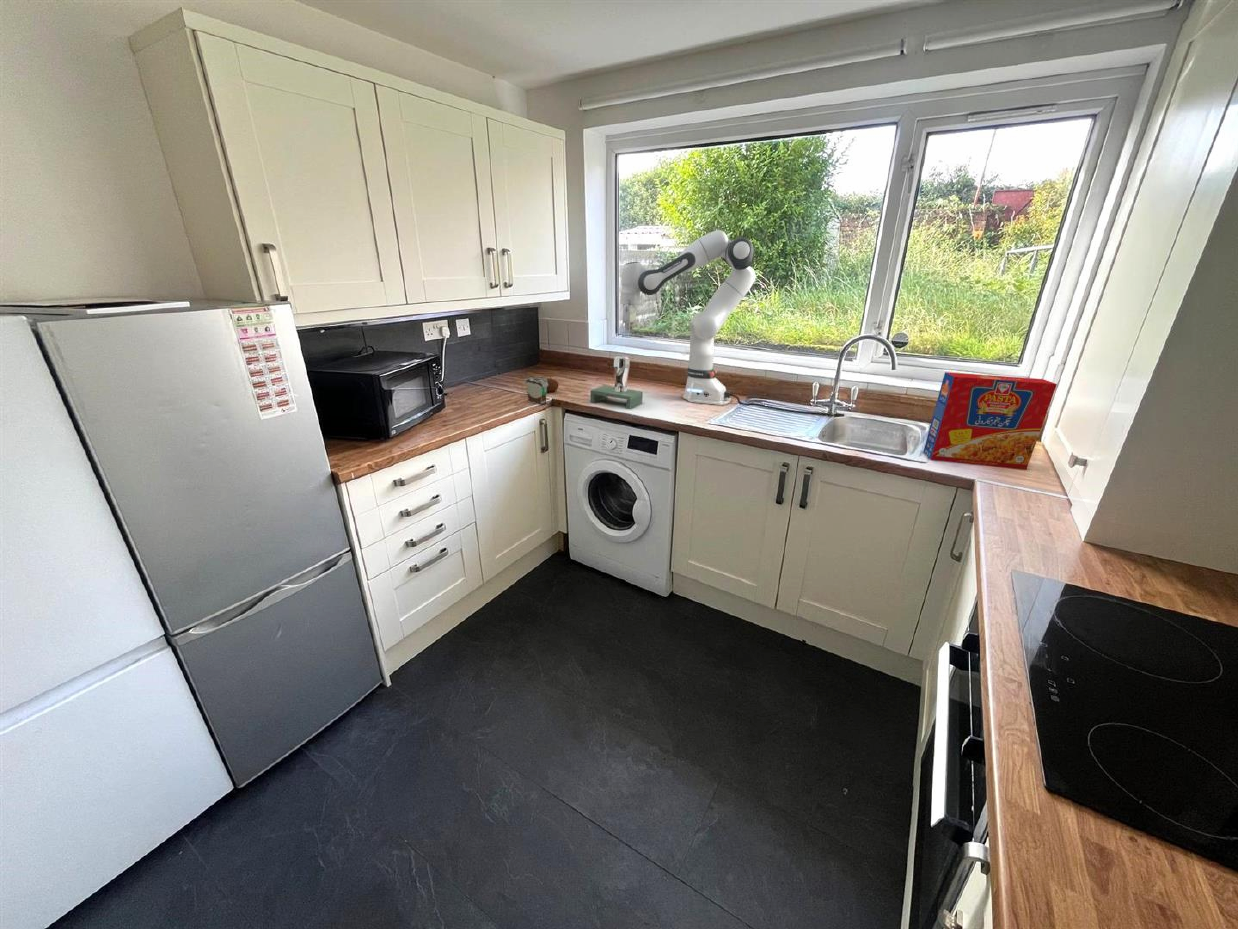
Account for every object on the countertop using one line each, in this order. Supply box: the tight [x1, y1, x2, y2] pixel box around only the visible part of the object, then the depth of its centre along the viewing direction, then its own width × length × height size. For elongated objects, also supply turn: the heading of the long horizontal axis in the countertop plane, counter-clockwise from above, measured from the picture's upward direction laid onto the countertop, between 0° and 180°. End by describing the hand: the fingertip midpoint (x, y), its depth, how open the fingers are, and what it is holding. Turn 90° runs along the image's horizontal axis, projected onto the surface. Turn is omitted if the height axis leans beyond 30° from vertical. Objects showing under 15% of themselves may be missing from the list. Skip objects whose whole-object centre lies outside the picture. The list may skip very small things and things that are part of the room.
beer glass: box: [612, 355, 630, 393], centre depth 218 cm, size 7×7×15 cm
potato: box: [545, 378, 559, 393], centre depth 238 cm, size 6×12×6 cm, turn 151°
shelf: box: [589, 385, 644, 410], centre depth 222 cm, size 20×12×6 cm, turn 61°
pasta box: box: [922, 371, 1058, 471], centre depth 162 cm, size 28×8×28 cm, turn 76°
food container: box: [525, 377, 548, 406], centre depth 218 cm, size 12×6×10 cm, turn 46°
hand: (628, 331), depth 230 cm, fingers open, 8 cm apart
